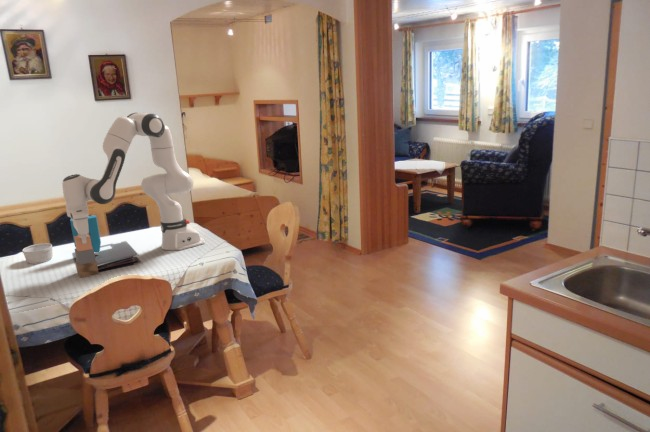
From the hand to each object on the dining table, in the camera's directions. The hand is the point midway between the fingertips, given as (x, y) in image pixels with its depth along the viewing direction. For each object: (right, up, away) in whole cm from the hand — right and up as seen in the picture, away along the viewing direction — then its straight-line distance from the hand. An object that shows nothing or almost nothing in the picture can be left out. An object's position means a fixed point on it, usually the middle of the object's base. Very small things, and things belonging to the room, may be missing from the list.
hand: (82, 240), depth 233 cm
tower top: (0, -10, +2) cm, 10 cm away
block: (-10, -9, +29) cm, 32 cm away
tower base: (+1, -16, +4) cm, 16 cm away
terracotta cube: (0, -4, +1) cm, 4 cm away
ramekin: (-34, -12, +26) cm, 44 cm away
